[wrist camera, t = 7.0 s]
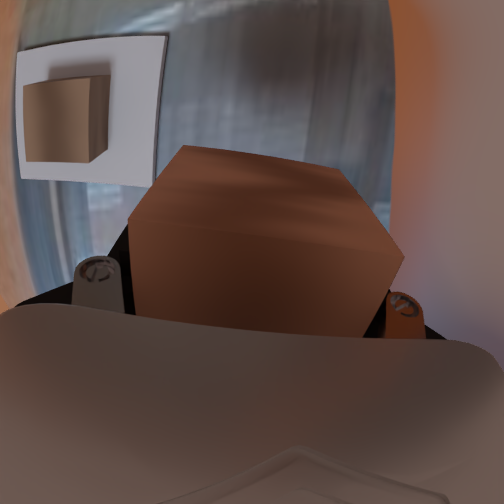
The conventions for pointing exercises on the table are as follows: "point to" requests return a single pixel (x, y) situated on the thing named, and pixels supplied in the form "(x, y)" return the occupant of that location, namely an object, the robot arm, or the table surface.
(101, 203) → the table surface
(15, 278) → the table surface
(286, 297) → the terracotta cube
